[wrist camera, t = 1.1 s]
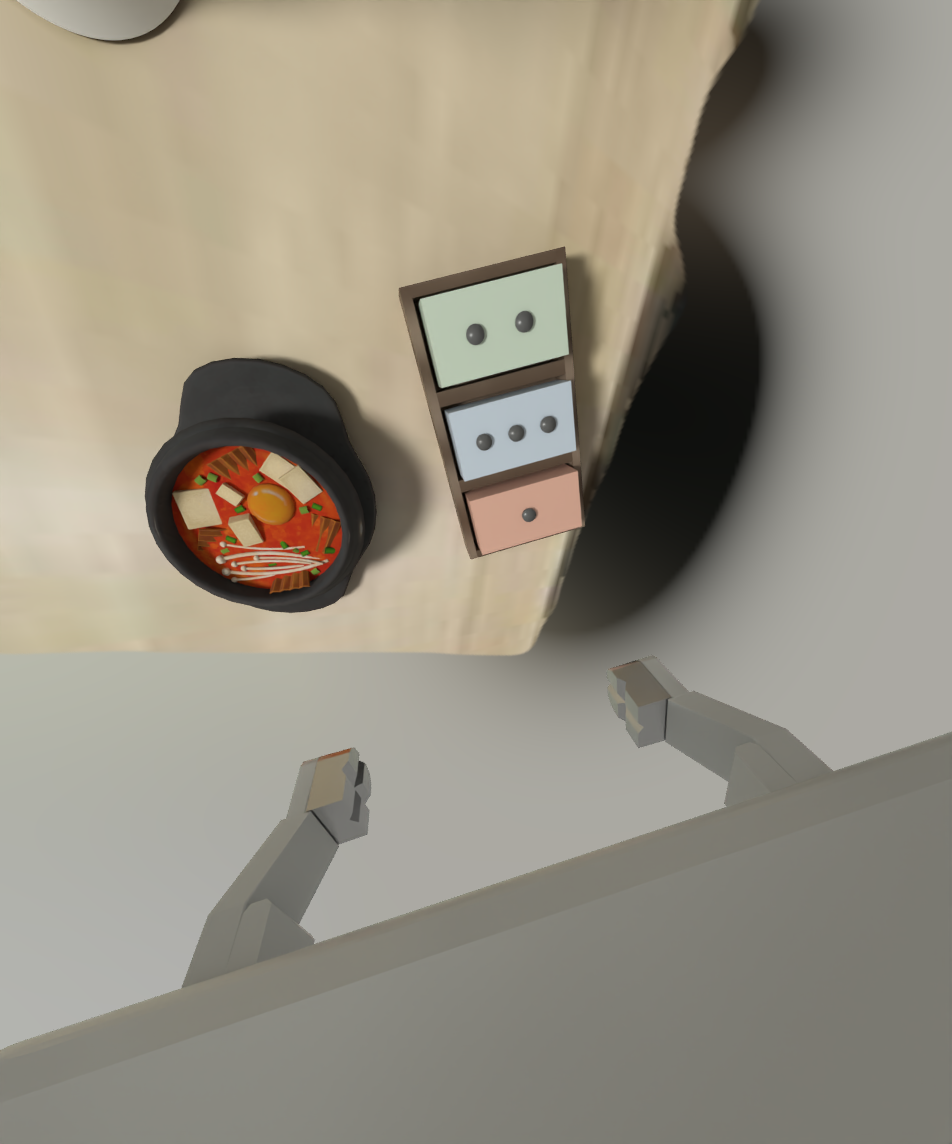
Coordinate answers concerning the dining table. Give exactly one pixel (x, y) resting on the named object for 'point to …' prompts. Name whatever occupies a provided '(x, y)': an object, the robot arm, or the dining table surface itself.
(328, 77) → the dining table surface
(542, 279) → the counting block
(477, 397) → the wooden counting block tray
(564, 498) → the counting block
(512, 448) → the counting block
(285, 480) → the casserole
